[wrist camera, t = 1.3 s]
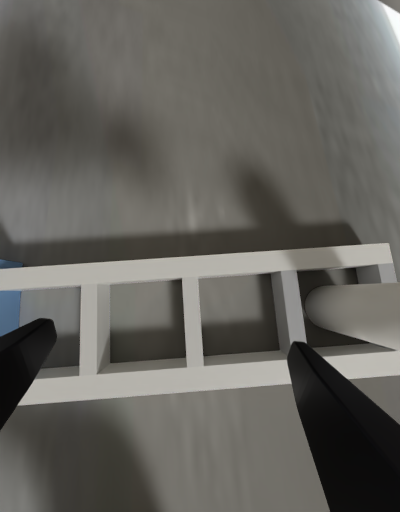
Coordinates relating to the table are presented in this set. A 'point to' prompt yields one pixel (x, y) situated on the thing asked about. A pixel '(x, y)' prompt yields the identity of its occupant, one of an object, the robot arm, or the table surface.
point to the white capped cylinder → (358, 311)
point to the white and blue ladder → (192, 323)
